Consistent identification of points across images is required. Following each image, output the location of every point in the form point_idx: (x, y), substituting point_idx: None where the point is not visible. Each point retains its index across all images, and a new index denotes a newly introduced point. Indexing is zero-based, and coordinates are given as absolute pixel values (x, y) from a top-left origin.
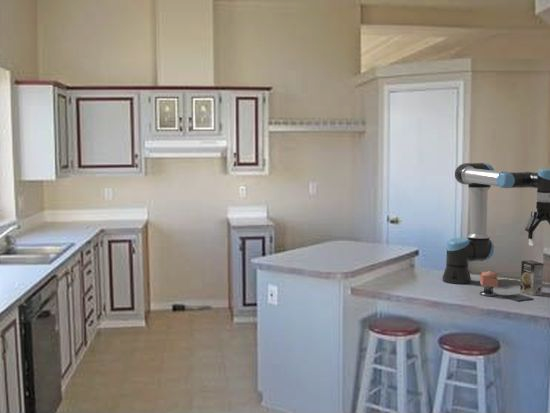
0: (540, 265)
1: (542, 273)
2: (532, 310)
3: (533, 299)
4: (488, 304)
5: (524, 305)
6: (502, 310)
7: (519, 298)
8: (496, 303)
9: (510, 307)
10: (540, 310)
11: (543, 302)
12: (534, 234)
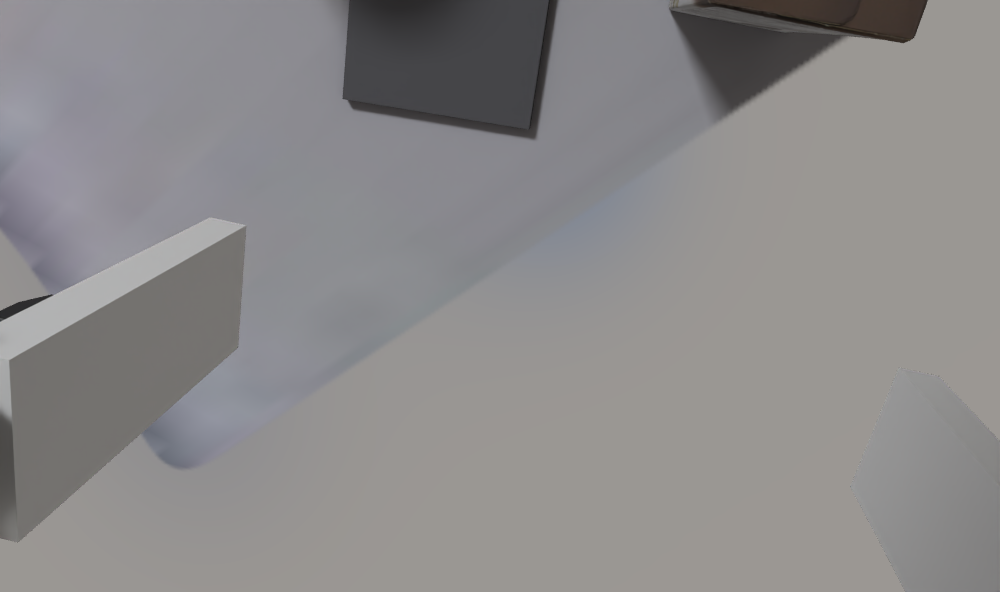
0: (833, 29)
1: (847, 35)
2: (239, 335)
3: (527, 128)
4: (44, 36)
5: (296, 214)
6: (33, 221)
7: (409, 61)
8: (129, 47)
9: (148, 196)
10: (292, 365)
11: (522, 234)
12: (60, 501)
